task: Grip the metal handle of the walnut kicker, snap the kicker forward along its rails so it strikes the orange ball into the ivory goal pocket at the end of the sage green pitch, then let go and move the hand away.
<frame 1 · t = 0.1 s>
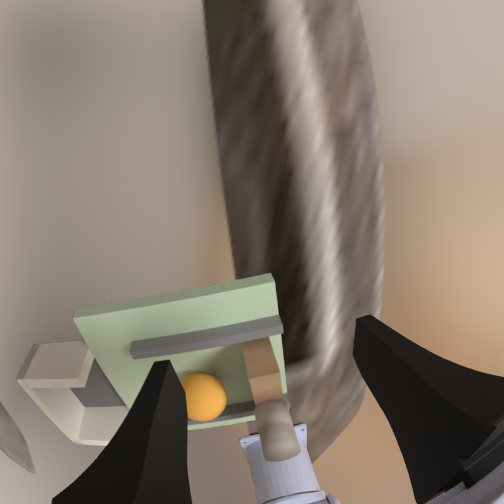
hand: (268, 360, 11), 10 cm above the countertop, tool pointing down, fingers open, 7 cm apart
kicker: (270, 408, 19), point 6 cm above the countertop, slide at 0.0 cm
pitch: (156, 374, 23), on the countertop
ball: (201, 397, 21), point 3 cm above the countertop, touching pitch
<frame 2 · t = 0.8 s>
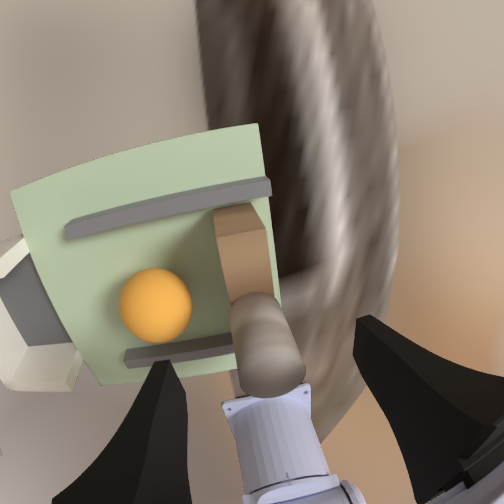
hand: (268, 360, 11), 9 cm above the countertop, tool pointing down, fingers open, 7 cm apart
kicker: (254, 313, 13), point 5 cm above the countertop, slide at 0.0 cm
pitch: (105, 287, 18), on the countertop
ball: (155, 305, 15), point 3 cm above the countertop, touching pitch
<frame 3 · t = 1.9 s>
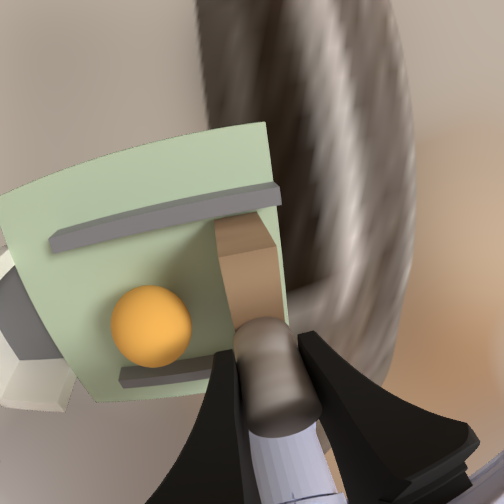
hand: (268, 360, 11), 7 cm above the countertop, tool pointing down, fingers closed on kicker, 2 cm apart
kicker: (262, 339, 12), point 5 cm above the countertop, slide at 0.0 cm, touching gripper
pitch: (97, 302, 16), on the countertop
ball: (151, 326, 13), point 3 cm above the countertop, touching pitch
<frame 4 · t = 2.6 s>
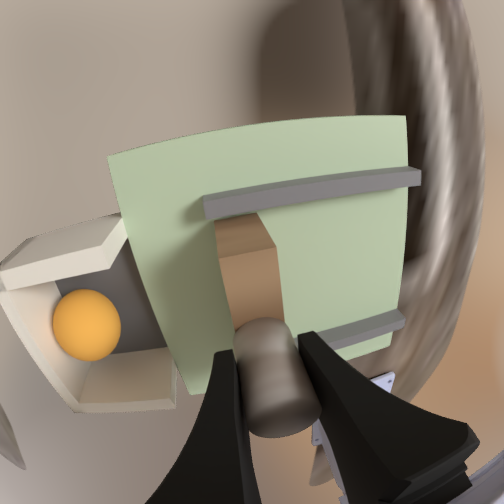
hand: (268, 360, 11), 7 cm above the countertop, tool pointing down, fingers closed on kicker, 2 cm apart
kicker: (262, 340, 12), point 6 cm above the countertop, slide at 7.7 cm, touching gripper
pitch: (221, 280, 17), on the countertop
ball: (86, 325, 14), point 2 cm above the countertop, tilted 32°, touching pitch
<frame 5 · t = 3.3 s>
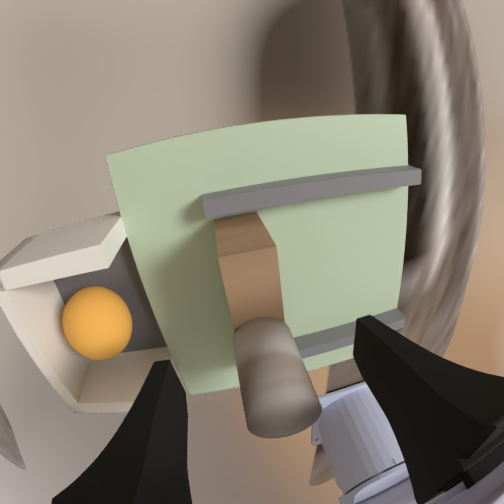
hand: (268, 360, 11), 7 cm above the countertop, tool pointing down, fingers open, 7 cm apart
kicker: (262, 339, 12), point 5 cm above the countertop, slide at 7.7 cm
pitch: (221, 279, 17), on the countertop
ball: (97, 323, 14), point 2 cm above the countertop, tilted 54°, touching pitch
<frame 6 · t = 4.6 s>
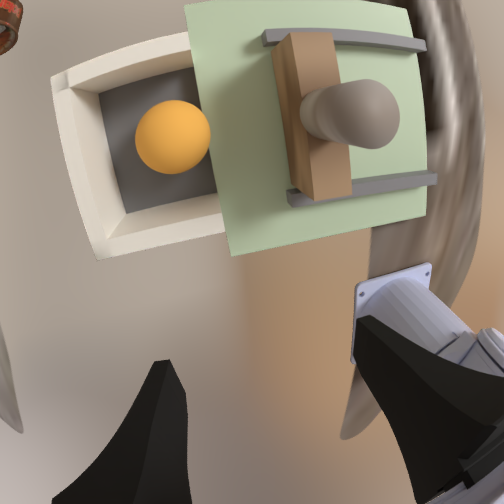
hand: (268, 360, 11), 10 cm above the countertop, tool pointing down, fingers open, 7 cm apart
kicker: (325, 113, 12), point 6 cm above the countertop, slide at 7.7 cm
pitch: (270, 117, 17), on the countertop
ball: (172, 136, 14), point 2 cm above the countertop, tilted 91°, touching pitch
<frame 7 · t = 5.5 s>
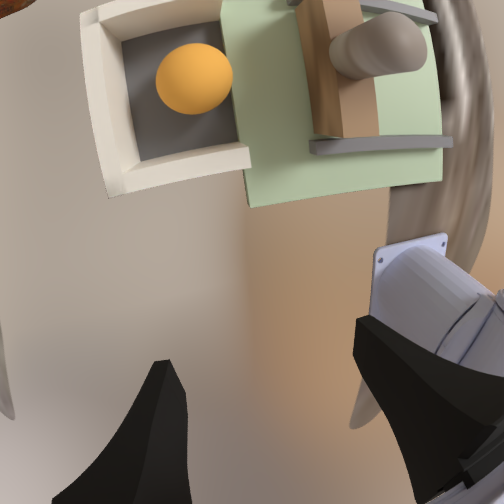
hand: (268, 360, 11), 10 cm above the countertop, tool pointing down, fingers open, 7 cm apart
kicker: (352, 56, 11), point 5 cm above the countertop, slide at 7.7 cm
pitch: (293, 72, 16), on the countertop
ball: (194, 78, 13), point 2 cm above the countertop, tilted 86°, touching pitch
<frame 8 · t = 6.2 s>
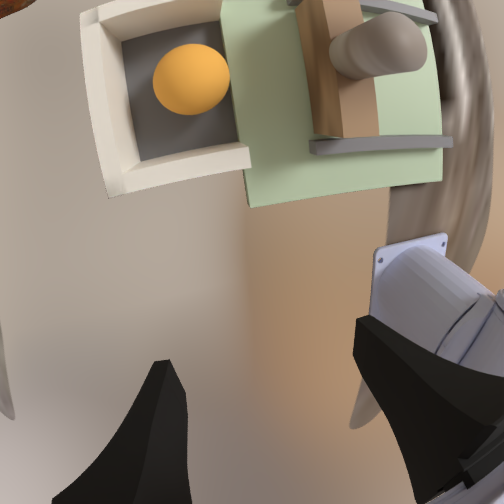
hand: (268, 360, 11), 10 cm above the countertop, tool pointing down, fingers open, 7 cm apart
kicker: (352, 56, 11), point 6 cm above the countertop, slide at 7.7 cm
pitch: (293, 72, 16), on the countertop
ball: (191, 79, 13), point 2 cm above the countertop, tilted 81°, touching pitch
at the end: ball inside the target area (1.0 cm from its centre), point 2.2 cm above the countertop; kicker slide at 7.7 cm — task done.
